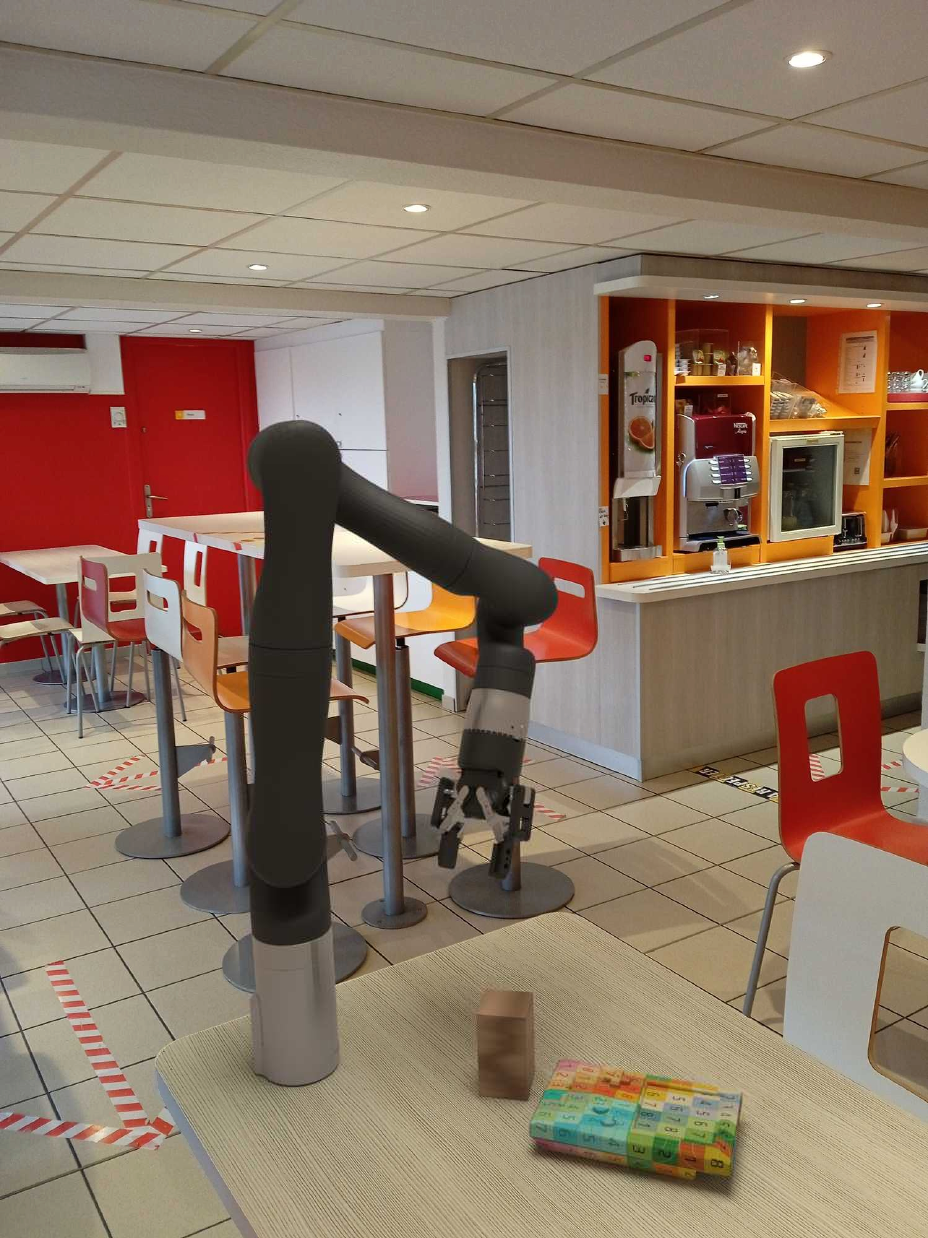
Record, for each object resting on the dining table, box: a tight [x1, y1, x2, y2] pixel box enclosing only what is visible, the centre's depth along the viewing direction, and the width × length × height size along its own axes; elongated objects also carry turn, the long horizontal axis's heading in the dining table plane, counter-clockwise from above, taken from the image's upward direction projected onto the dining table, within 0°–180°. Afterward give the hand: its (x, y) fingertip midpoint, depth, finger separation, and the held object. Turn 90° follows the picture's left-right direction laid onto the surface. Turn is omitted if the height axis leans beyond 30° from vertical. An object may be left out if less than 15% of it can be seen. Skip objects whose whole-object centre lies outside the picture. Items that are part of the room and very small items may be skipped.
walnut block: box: [475, 988, 536, 1102], centre depth 117 cm, size 6×6×10 cm
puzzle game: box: [528, 1058, 744, 1181], centre depth 107 cm, size 12×5×20 cm
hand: (471, 873), depth 117 cm, fingers open, 8 cm apart
